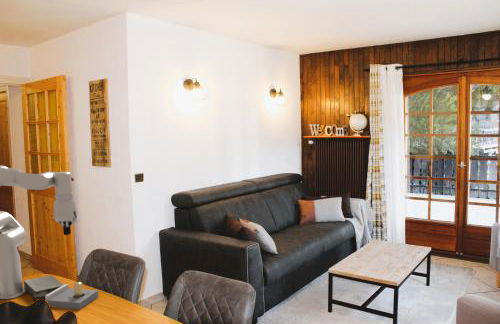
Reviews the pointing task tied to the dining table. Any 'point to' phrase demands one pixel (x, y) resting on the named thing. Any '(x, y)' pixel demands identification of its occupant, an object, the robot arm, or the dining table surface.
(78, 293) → the brass pin
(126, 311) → the dining table surface
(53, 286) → the stone block
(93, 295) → the plate
